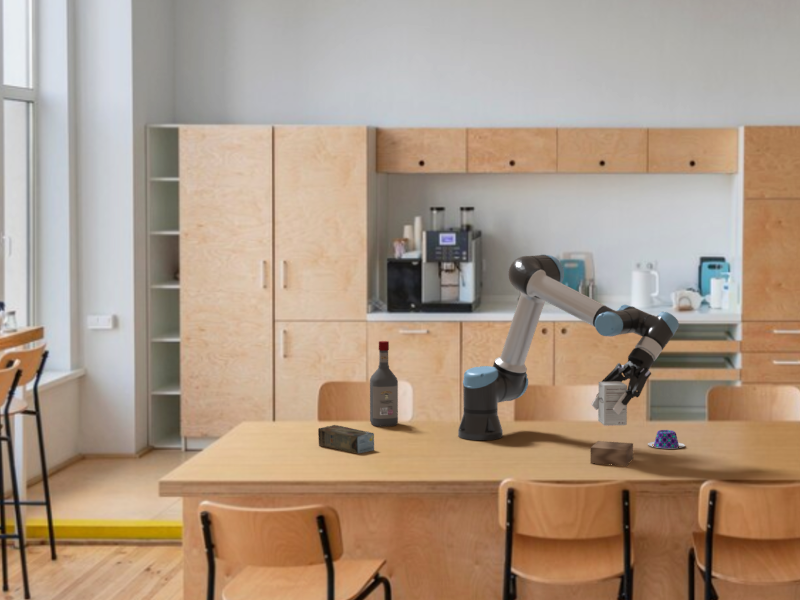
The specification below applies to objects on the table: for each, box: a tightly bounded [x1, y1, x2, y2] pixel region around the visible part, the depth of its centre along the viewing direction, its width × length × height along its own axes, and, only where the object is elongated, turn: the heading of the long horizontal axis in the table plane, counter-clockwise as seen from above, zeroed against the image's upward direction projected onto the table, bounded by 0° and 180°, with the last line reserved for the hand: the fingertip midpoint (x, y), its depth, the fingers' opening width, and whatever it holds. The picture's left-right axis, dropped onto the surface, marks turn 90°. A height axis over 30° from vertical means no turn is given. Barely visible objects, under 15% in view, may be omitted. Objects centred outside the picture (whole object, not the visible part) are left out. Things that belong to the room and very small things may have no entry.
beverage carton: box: [317, 424, 375, 455], centre depth 401 cm, size 8×19×7 cm, turn 46°
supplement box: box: [597, 381, 628, 427], centre depth 379 cm, size 7×7×13 cm
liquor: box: [369, 340, 399, 428], centre depth 442 cm, size 9×9×30 cm
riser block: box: [590, 440, 634, 467], centre depth 380 cm, size 11×11×5 cm
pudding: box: [647, 429, 686, 450], centre depth 404 cm, size 12×12×5 cm
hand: (604, 409), depth 377 cm, fingers closed on supplement box, 9 cm apart
